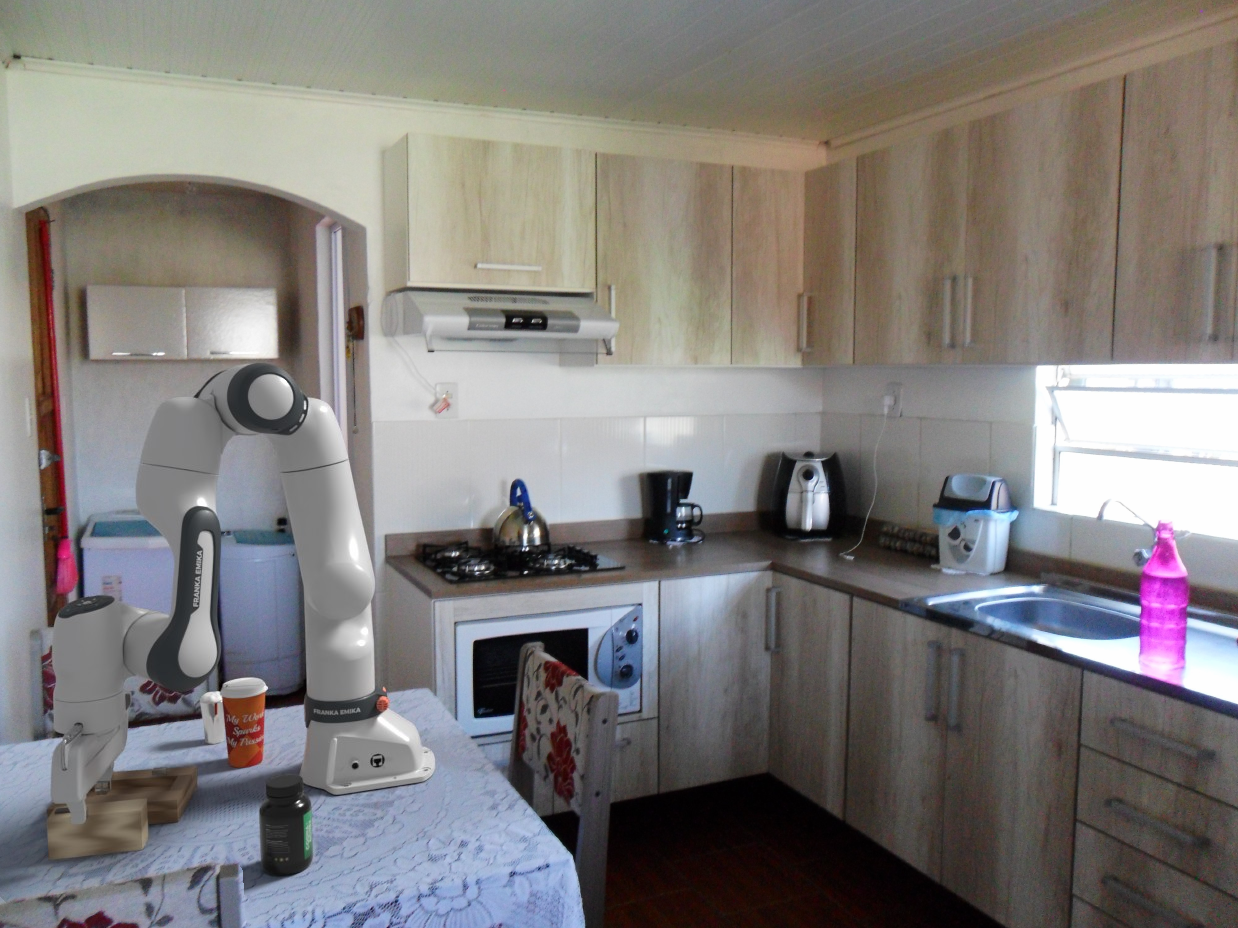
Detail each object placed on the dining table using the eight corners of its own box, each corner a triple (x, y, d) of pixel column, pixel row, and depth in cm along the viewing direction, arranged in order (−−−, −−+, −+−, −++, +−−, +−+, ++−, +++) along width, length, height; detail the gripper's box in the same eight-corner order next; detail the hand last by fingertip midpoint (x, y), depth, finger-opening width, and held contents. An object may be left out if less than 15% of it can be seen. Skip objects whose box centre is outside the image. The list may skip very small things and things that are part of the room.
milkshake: (226, 745, 179) (224, 692, 178) (197, 745, 179) (195, 691, 178) (236, 736, 183) (234, 684, 183) (207, 736, 184) (205, 683, 183)
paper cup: (224, 773, 167) (221, 692, 165) (220, 757, 173) (217, 680, 172) (273, 764, 170) (270, 686, 169) (266, 749, 177) (264, 674, 176)
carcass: (197, 786, 161) (196, 759, 161) (178, 821, 149) (176, 793, 148) (78, 795, 158) (77, 767, 158) (48, 832, 145) (46, 802, 145)
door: (148, 837, 144) (146, 795, 143) (142, 850, 140) (140, 807, 140) (57, 847, 141) (55, 804, 140) (48, 860, 137) (46, 816, 137)
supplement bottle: (322, 863, 136) (320, 780, 135) (276, 882, 131) (273, 795, 130) (297, 847, 141) (294, 766, 140) (251, 865, 136) (248, 781, 135)
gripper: (87, 738, 129) (90, 839, 130) (135, 689, 149) (137, 777, 150) (35, 740, 128) (38, 842, 129) (90, 690, 148) (92, 779, 149)
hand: (91, 806), depth 140 cm, fingers open, 8 cm apart
